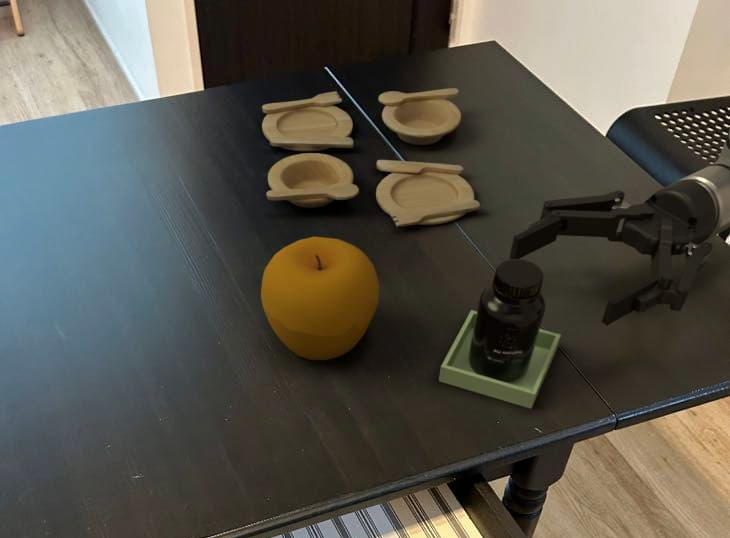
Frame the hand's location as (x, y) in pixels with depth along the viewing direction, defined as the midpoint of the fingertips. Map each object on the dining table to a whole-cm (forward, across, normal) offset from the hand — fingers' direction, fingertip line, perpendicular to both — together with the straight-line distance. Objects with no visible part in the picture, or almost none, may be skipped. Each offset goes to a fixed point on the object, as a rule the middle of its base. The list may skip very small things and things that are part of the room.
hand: (558, 279), depth 87 cm
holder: (+6, 0, -9) cm, 11 cm away
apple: (+20, +16, -9) cm, 27 cm away
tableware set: (-8, +43, -9) cm, 44 cm away
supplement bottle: (+6, 0, -9) cm, 11 cm away
